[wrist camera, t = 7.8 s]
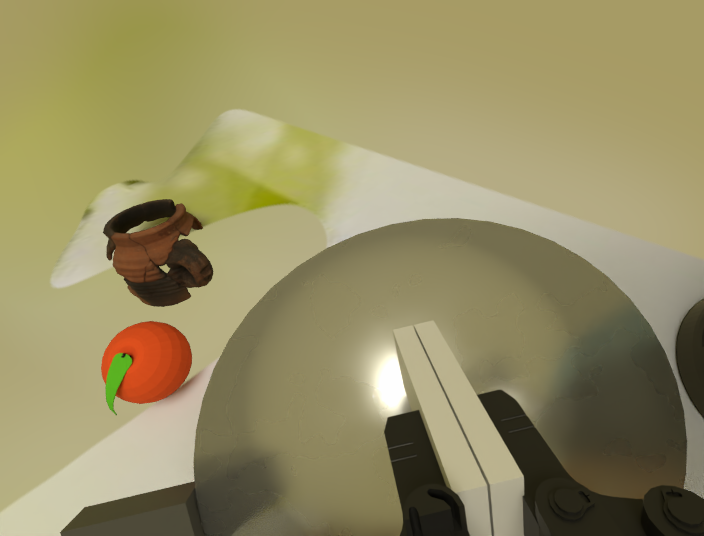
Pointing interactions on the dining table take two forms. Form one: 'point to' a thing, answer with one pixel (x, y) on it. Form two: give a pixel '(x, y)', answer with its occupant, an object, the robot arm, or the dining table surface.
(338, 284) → the cooker lid
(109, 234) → the pottery mug
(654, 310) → the dining table surface
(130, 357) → the clementine
